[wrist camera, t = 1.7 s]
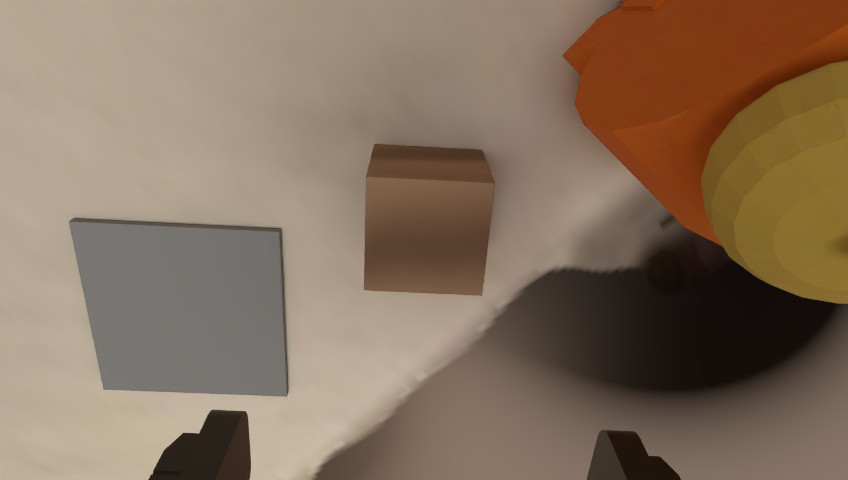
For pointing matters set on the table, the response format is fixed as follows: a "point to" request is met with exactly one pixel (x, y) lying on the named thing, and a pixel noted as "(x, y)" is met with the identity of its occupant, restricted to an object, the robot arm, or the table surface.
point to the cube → (427, 220)
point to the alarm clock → (733, 125)
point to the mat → (184, 306)
